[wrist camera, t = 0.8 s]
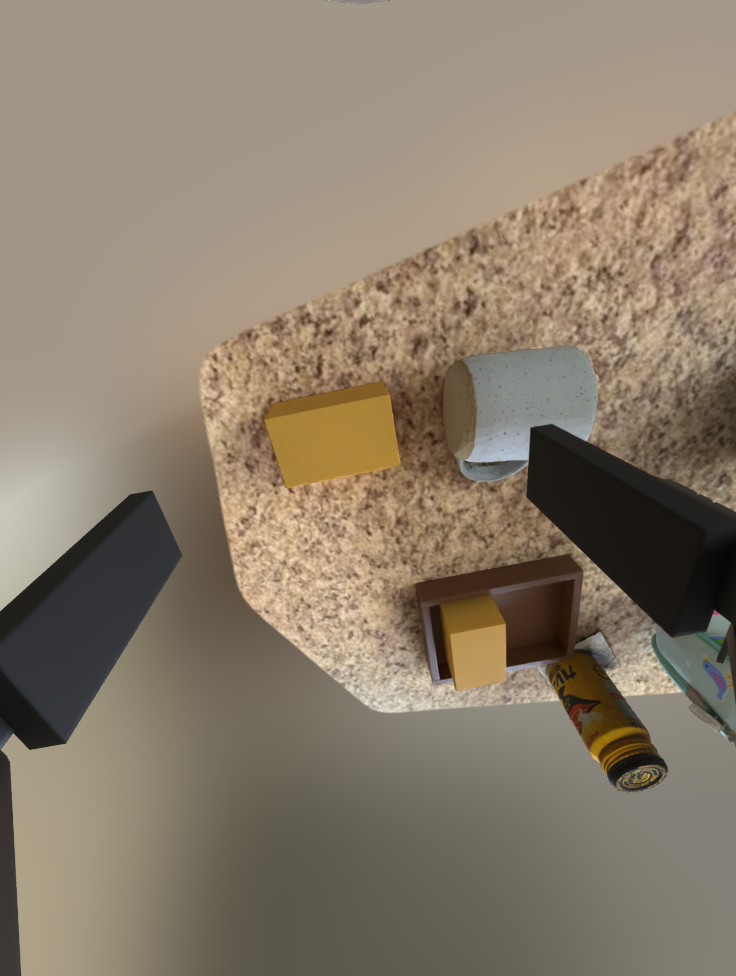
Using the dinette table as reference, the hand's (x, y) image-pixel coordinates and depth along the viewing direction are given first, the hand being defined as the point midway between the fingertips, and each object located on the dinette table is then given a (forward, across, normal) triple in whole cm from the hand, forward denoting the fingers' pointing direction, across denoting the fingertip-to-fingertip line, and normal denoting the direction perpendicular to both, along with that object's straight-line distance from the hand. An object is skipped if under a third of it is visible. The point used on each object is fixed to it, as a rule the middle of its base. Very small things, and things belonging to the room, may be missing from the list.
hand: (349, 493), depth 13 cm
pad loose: (+17, -1, -2) cm, 17 cm away
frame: (+17, +12, -26) cm, 33 cm away
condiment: (+17, +22, -36) cm, 46 cm away
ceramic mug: (+17, +12, -3) cm, 21 cm away
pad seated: (+16, +9, -26) cm, 32 cm away
